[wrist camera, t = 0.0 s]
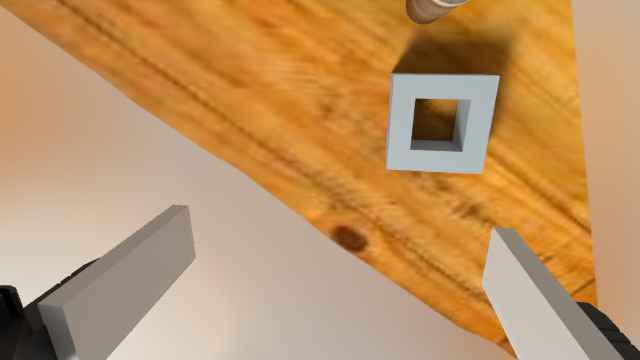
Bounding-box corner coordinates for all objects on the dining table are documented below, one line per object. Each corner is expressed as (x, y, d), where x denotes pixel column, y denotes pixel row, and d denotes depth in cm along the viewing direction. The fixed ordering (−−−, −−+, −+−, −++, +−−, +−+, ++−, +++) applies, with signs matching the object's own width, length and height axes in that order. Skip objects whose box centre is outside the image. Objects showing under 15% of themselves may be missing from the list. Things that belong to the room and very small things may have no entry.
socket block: (391, 72, 38) (394, 74, 33) (483, 73, 37) (499, 75, 32) (384, 156, 41) (386, 169, 37) (469, 160, 40) (482, 173, 35)
